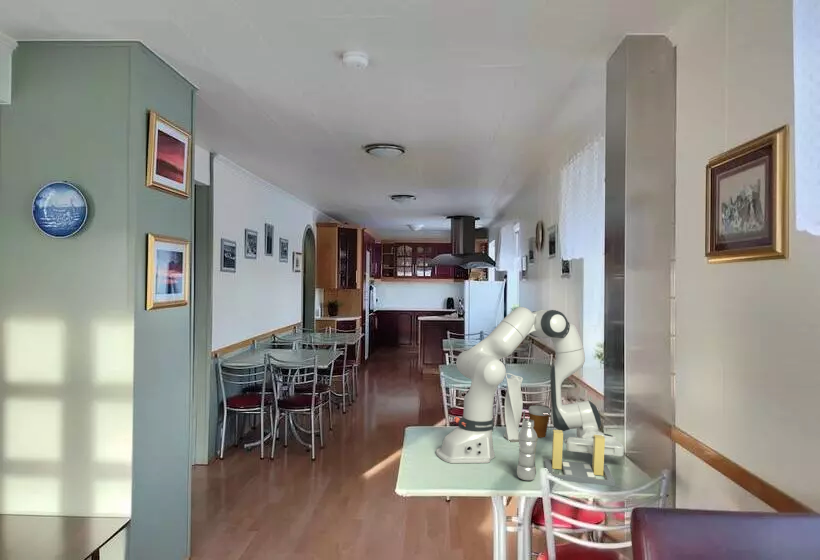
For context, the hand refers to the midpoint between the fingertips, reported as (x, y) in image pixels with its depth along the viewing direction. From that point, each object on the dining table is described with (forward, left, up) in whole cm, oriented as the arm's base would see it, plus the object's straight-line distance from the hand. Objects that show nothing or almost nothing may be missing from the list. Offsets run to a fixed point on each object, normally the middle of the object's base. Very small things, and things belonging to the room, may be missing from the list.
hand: (597, 453), depth 191 cm
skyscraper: (-11, +40, -7) cm, 42 cm away
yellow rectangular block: (-12, +7, -7) cm, 15 cm away
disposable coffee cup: (+3, +42, -7) cm, 43 cm away
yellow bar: (-1, -2, -7) cm, 7 cm away
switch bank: (-8, 0, -7) cm, 10 cm away
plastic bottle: (-29, 0, -7) cm, 30 cm away
